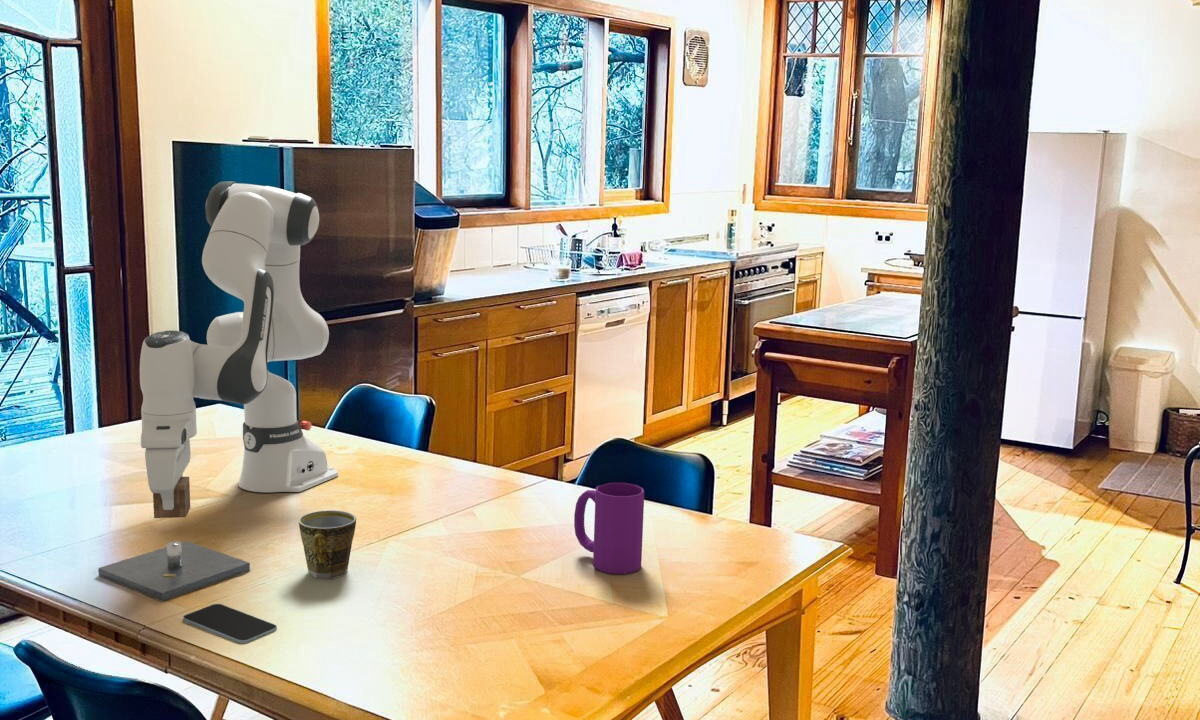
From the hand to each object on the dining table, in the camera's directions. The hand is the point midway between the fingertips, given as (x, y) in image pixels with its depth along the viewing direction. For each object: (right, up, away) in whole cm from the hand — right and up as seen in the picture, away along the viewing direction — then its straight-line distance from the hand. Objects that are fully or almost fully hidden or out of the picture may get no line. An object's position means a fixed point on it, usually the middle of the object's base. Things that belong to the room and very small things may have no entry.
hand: (172, 502), depth 201 cm
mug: (+76, -13, +15) cm, 78 cm away
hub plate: (0, -13, +2) cm, 13 cm away
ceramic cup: (+26, -14, +4) cm, 30 cm away
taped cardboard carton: (0, -2, 0) cm, 2 cm away
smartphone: (+16, -18, -18) cm, 30 cm away
